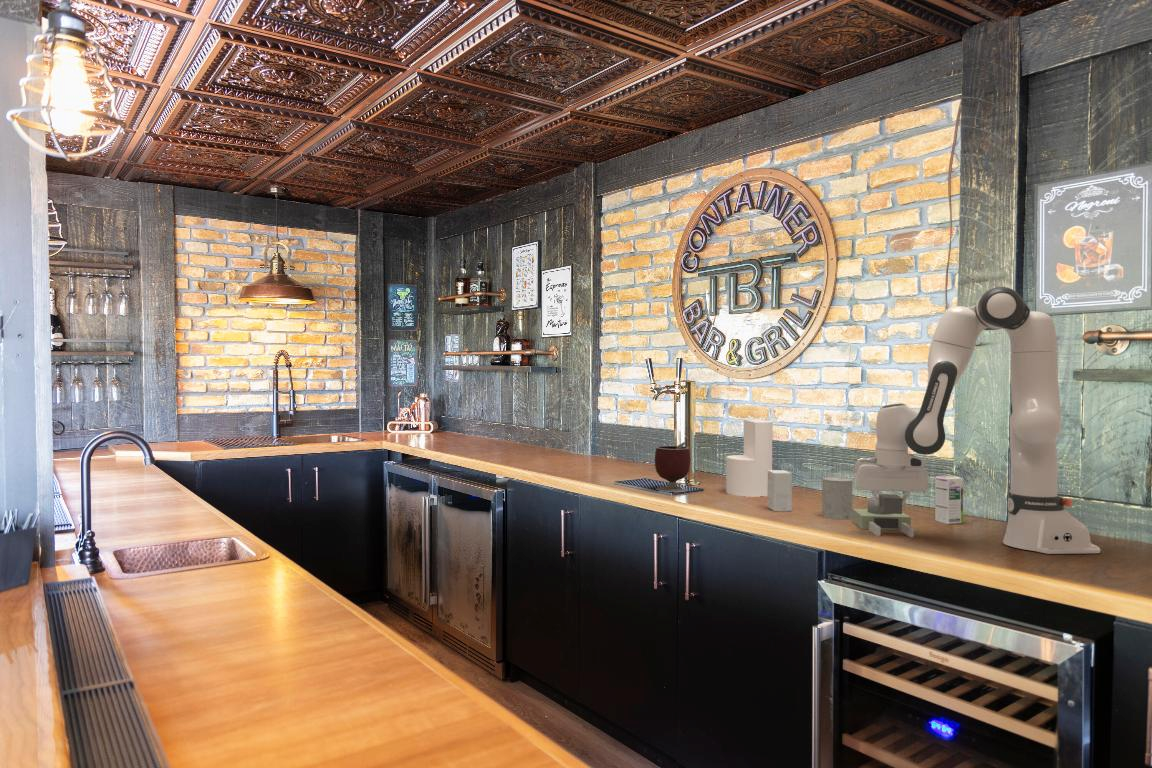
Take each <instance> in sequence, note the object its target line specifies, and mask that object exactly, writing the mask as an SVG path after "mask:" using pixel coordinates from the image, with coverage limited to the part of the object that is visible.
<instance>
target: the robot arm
mask: <svg viewBox="0 0 1152 768" xmlns="http://www.w3.org/2000/svg"><path fill="white" fill-rule="evenodd" d="M995 330H996V331H997V330H1004V331H1005V332H1006V333H1007V334H1008V337H1009V343H1010V344H1009V347H1010V348H1009V350H1010V351H1009V352H1010V353H1009V354H1010V355H1009V359H1010V389H1011V410H1012V413H1011V415H1010V417H1009V418H1010V419H1009V450H1010V451H1009V454H1010V458H1009V459H1010V477H1009V478H1010V483H1009V484H1010V485H1009V486H1010V488H1009V489H1010V490H1009V492H1008V495H1007V512H1008V519H1007V525H1006V530H1005V533H1004V536H1003V540H1002V544H1004V545H1006V546H1009V547H1011V548H1016V549H1020V550H1026V551H1031V552H1032V551H1033V552H1038V553H1043V554H1047V555H1048V554H1049V555H1052V554H1053V555H1058V554H1059V555H1061V554H1062V555H1065V554H1067V555H1068V554H1070V555H1071V554H1100V553H1101V551H1102V550H1101V548H1100V547H1099V546H1098V545H1096V544H1095V543H1094V544H1093V543H1092V542H1091V536H1090V532H1089V529H1088V527H1087V526H1086V525H1085V524H1084V523H1082V522H1081V521H1079V520H1078V519H1077V518H1076V517H1074V516H1073V515H1071V514H1070V513H1069V512H1068V511H1066V510H1065V507H1067V508H1070V507H1072V506H1073V505H1074V503H1073V500H1072V499H1069V498H1066V497H1064V498H1063V497H1061V496H1060V495H1058V487H1059V486H1058V482H1059V481H1058V479H1059V477H1058V475H1059V473H1058V472H1059V471H1058V470H1059V465H1058V453H1057V451H1058V450H1057V438H1058V436H1059V434H1060V433H1061V431H1062V416H1061V415H1062V413H1061V401H1060V400H1061V399H1060V398H1061V397H1060V387H1059V368H1058V367H1059V365H1058V363H1059V361H1058V360H1059V359H1058V357H1059V356H1058V352H1059V351H1058V340H1057V333H1056V332H1057V331H1056V328H1055V323H1054V320H1053V318H1052V316H1050V315H1049V314H1047V313H1046V312H1043V311H1037V310H1035V311H1033V310H1032V311H1031V309H1030V308H1029V307H1028V305H1027V304H1026V302H1025V301H1024V299H1023V298H1022V296H1021V295H1020V294H1019V293H1018V292H1017V291H1015V289H1013V288H1010V287H1007V286H996V287H993V288H990V289H989V290H986V291H985V292H984V293H983V294H982V295H981V296H980V297H979V298H978V299H977V301H976V302H975V303H974V304H973V305H972V306H968V307H967V306H962V305H956V306H951V307H949V308H947V309H946V310H945V311H944V312H943V314H942V316H941V318H940V320H939V321H938V324H937V325H936V328H935V330H934V333H933V336H932V339H931V342H930V345H929V346H930V347H929V351H928V356H927V371H928V380H927V386H926V389H925V394H924V396H923V400H922V402H921V406H920V408H919V411H917V410H915V409H912V408H911V407H909V406H908V405H907V404H906V403H892V404H887V405H884V406H882V407H880V409H878V412H877V415H876V422H875V435H876V444H875V448H874V449H875V450H874V452H875V455H874V458H873V457H872V458H871V457H870V458H868V457H867V458H864V457H862V458H859V459H857V460H855V461H854V463H853V464H854V465H853V466H854V467H853V469H854V472H855V473H854V479H853V486H854V487H855V489H857V490H859V491H861V490H862V491H871V494H872V496H873V497H874V498H875V505H876V506H882V500H881V499H878V498H879V496H878V495H879V491H881V492H883V491H885V492H902V495H903V496H902V497H901V498H902V508H904V507H905V508H906V501H907V500H908V499H909V497H911V496H910V493H911V492H912V493H913V492H914V493H915V492H918V493H926V492H927V491H928V490H929V476H928V475H929V474H928V471H927V469H926V468H925V466H926V461H925V460H924V459H923V458H922V457H917V456H915V455H914V454H909V449H910V450H912V452H914V453H916V454H918V455H925V456H928V455H933V454H935V453H937V452H939V451H940V450H941V449H942V448H943V446H944V444H945V442H946V432H945V426H944V421H945V416H946V412H947V408H948V405H949V402H950V398H951V396H952V392H953V391H954V388H955V386H956V384H957V383H958V381H959V380H960V378H961V377H962V375H963V374H964V373H965V371H966V369H967V367H968V366H969V363H970V361H971V360H972V359H971V358H972V356H973V353H974V350H975V347H976V343H977V341H978V338H979V336H980V334H981V333H982V332H983V331H995Z"/></svg>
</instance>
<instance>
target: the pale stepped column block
mask: <svg viewBox="0 0 1152 768" xmlns="http://www.w3.org/2000/svg"><path fill="white" fill-rule="evenodd" d="M773 422H774V421H772V420H767V419H765V420H764V419H743V454H736V455H735V454H733V455H727V456H726V457H725V458H726V459H725V460H726V461H725V462H726V464H725V465H726V468H725V471H726V472H725V475H726V476H725V492H726V494H728V495H730V494H731V495H730V496H736V497H744V496H745V497H750V498H758V497H759V498H760V496H764V497H767V492H768V470H773ZM745 497H744V498H745Z"/></svg>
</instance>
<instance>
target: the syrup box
mask: <svg viewBox="0 0 1152 768" xmlns="http://www.w3.org/2000/svg"><path fill="white" fill-rule="evenodd" d="M934 480H935V483H934V485H935V488H934V491H935V492H934V493H935V494H934V495H935V497H934V498H935V499H934V501H935V502H934V503H935V507H934V508H935V509H934V510H935V511H934V514H935V516H934V518H935V519H934V520H935V522H938V523H941V524H946V525H954V524H957V525H958V524H963V523H964V478H963V477H961V476H957V475H939V476H938V475H937V476H936V475H935V478H934Z"/></svg>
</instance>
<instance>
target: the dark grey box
mask: <svg viewBox="0 0 1152 768" xmlns="http://www.w3.org/2000/svg"><path fill="white" fill-rule="evenodd" d="M878 498H879V499H881V500H882V506H879V507H878V509H879V510H880V511H882V512H883V513H888V514H902V512H903V507H902V498H903V497H901V496H899V495H898V494H893V493H892V494H891V493H878Z"/></svg>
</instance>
